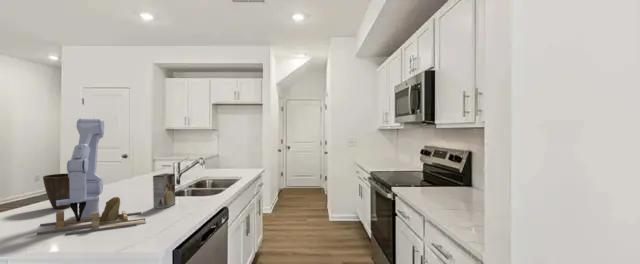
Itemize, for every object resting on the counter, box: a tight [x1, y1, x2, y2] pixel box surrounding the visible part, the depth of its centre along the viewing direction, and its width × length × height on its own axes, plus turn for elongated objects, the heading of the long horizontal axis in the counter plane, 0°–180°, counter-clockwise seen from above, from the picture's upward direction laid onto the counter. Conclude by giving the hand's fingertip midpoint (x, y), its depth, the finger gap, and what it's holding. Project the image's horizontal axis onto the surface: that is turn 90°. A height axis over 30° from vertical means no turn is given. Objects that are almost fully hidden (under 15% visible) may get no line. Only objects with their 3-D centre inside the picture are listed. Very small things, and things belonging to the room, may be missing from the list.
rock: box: [99, 196, 121, 222], centre depth 154 cm, size 11×9×10 cm
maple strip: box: [91, 210, 147, 229], centre depth 148 cm, size 4×19×6 cm, turn 124°
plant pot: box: [42, 172, 71, 210], centre depth 178 cm, size 15×15×16 cm
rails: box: [36, 211, 146, 236], centre depth 148 cm, size 20×37×1 cm, turn 123°
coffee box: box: [152, 172, 176, 209], centre depth 182 cm, size 9×6×16 cm
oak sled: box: [54, 210, 129, 230], centre depth 150 cm, size 12×25×6 cm, turn 123°
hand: (78, 221), depth 148 cm, fingers closed
